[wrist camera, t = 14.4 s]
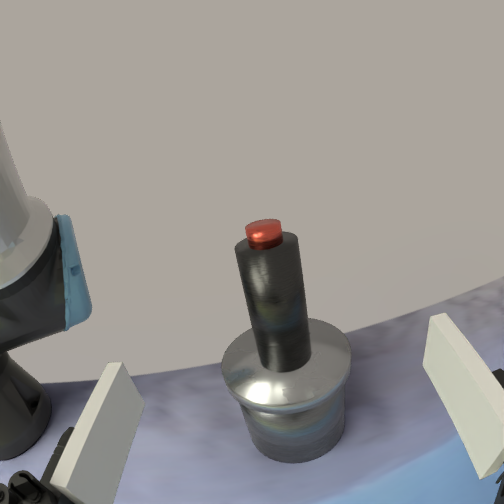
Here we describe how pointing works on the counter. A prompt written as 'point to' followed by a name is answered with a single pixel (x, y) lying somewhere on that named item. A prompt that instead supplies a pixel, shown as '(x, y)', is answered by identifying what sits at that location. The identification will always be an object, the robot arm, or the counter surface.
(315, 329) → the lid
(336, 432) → the pot
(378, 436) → the counter surface
